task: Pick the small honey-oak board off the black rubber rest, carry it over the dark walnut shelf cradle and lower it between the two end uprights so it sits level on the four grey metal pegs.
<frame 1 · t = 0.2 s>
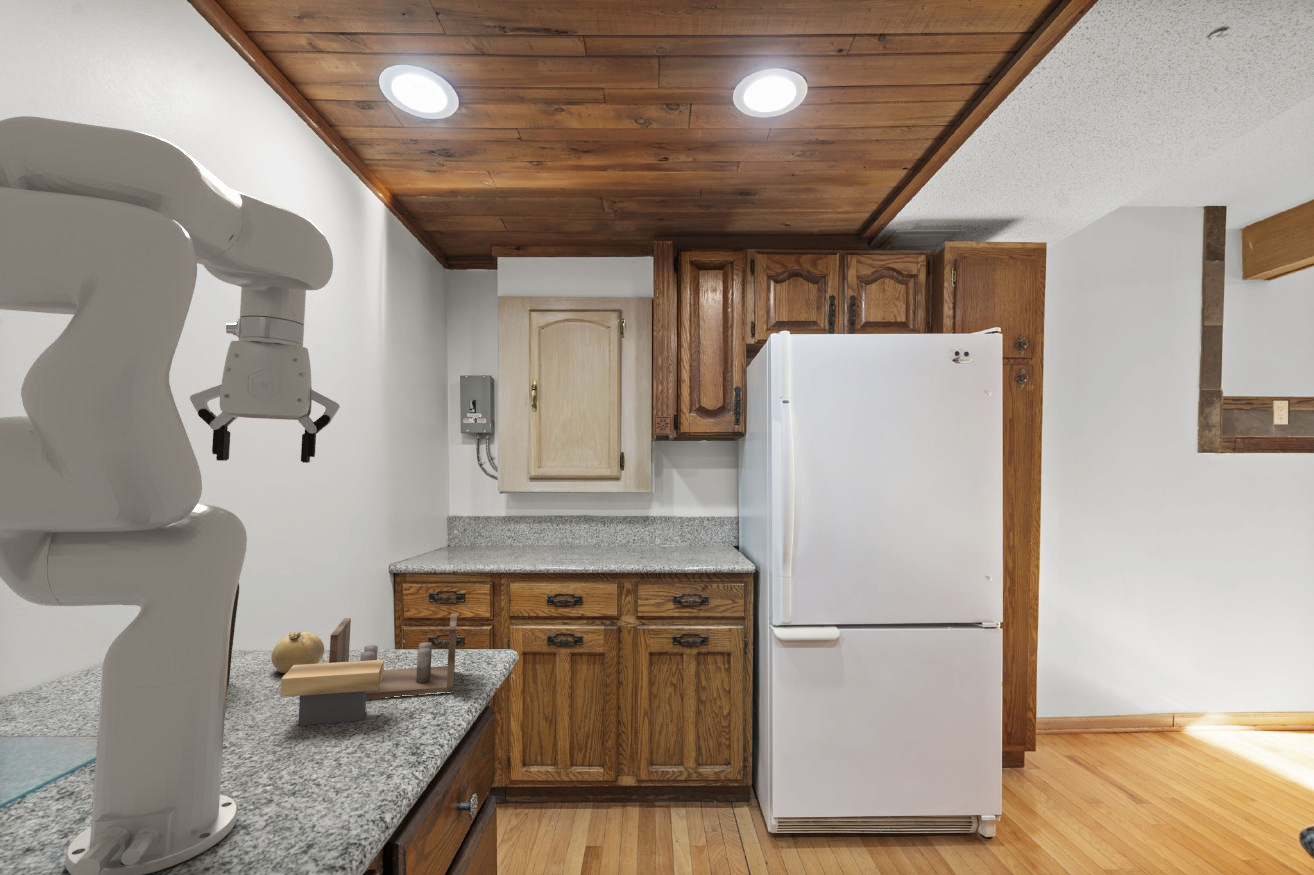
hand: (264, 461, 84), 36 cm above the countertop, tool pointing down, fingers open, 9 cm apart
onion: (297, 671, 107), on the countertop
shelf cradle: (395, 685, 101), on the countertop
oak board: (334, 685, 88), point 4 cm above the countertop, touching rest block
olive oil: (192, 691, 97), on the countertop
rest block: (332, 718, 87), on the countertop
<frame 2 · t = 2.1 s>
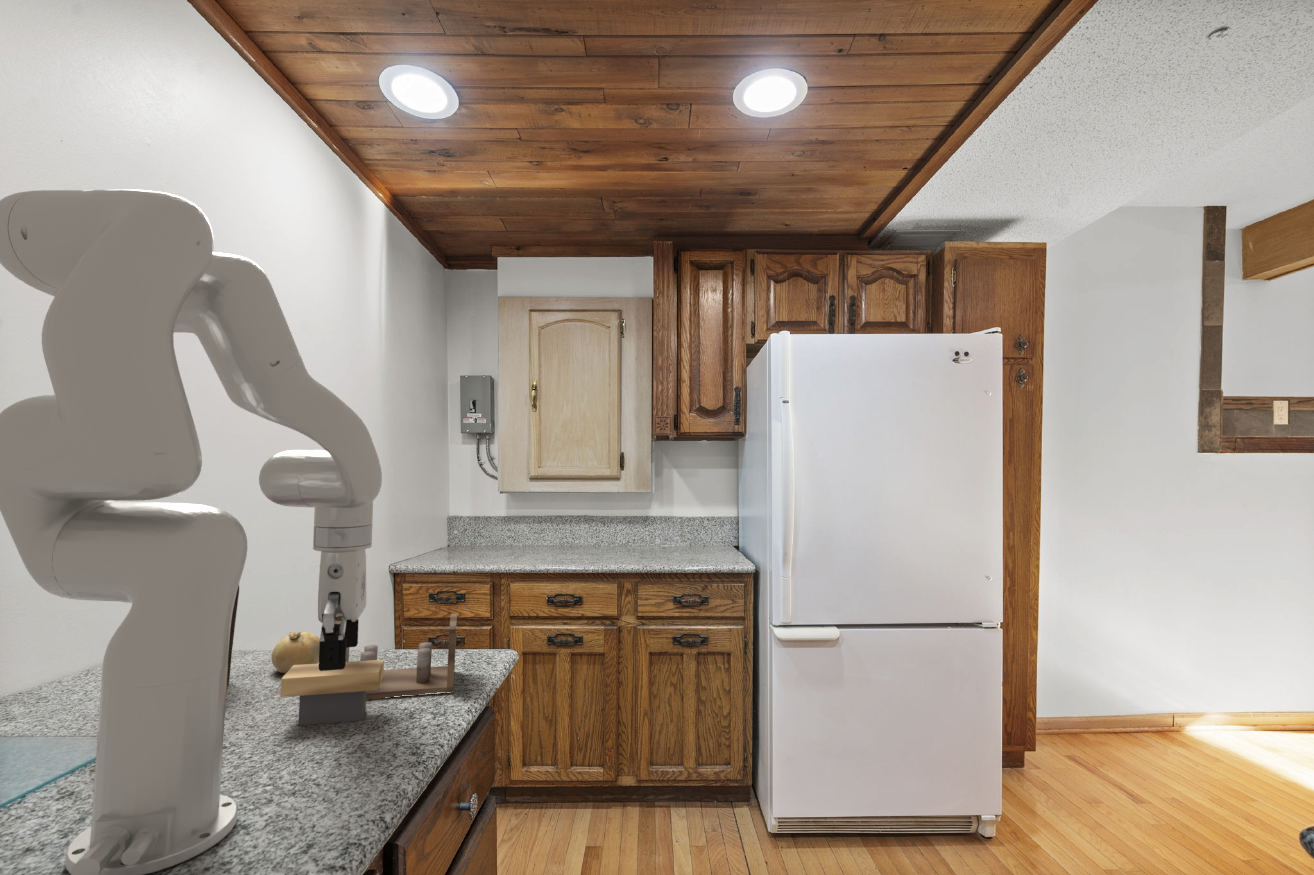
hand: (339, 657, 89), 8 cm above the countertop, tool pointing down, fingers open, 9 cm apart
nothing on the countertop moved.
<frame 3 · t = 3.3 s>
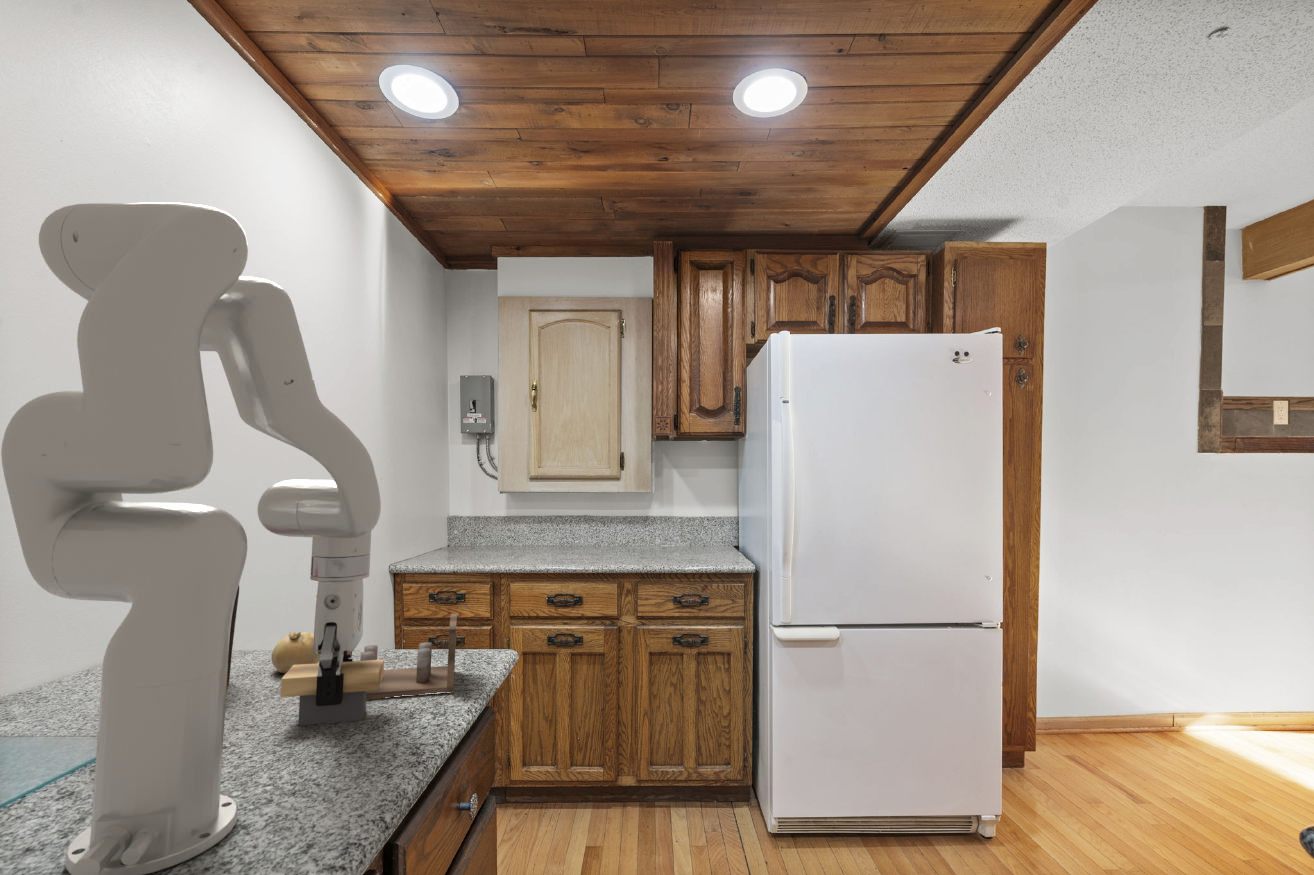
hand: (334, 694, 87), 3 cm above the countertop, tool pointing down, fingers closed on oak board, 6 cm apart
oak board: (334, 685, 88), point 5 cm above the countertop, touching gripper, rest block
everything else where it was.
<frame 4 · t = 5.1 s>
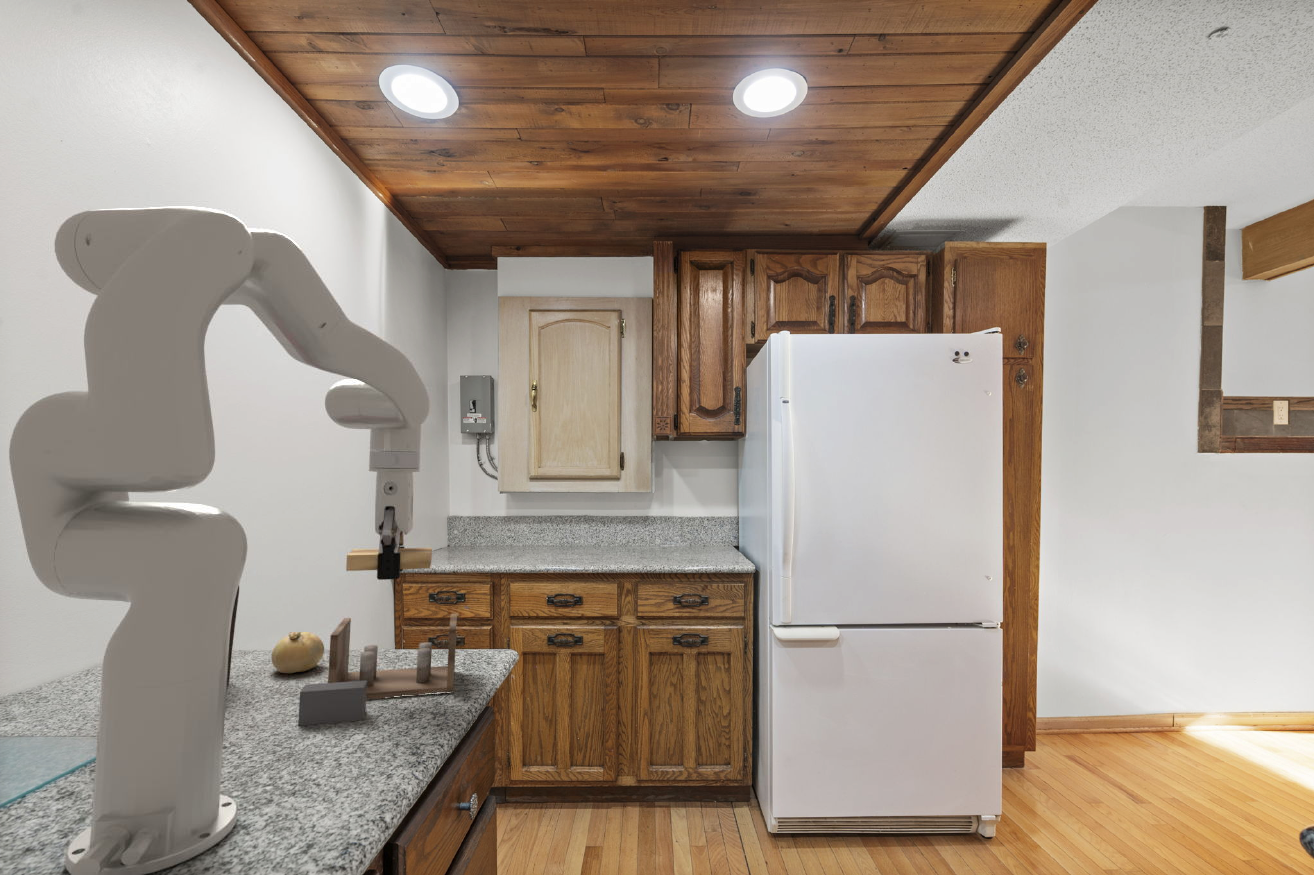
hand: (390, 573, 99), 18 cm above the countertop, tool pointing down, fingers closed on oak board, 6 cm apart
oak board: (390, 566, 99), point 20 cm above the countertop, touching gripper
everything else where it was.
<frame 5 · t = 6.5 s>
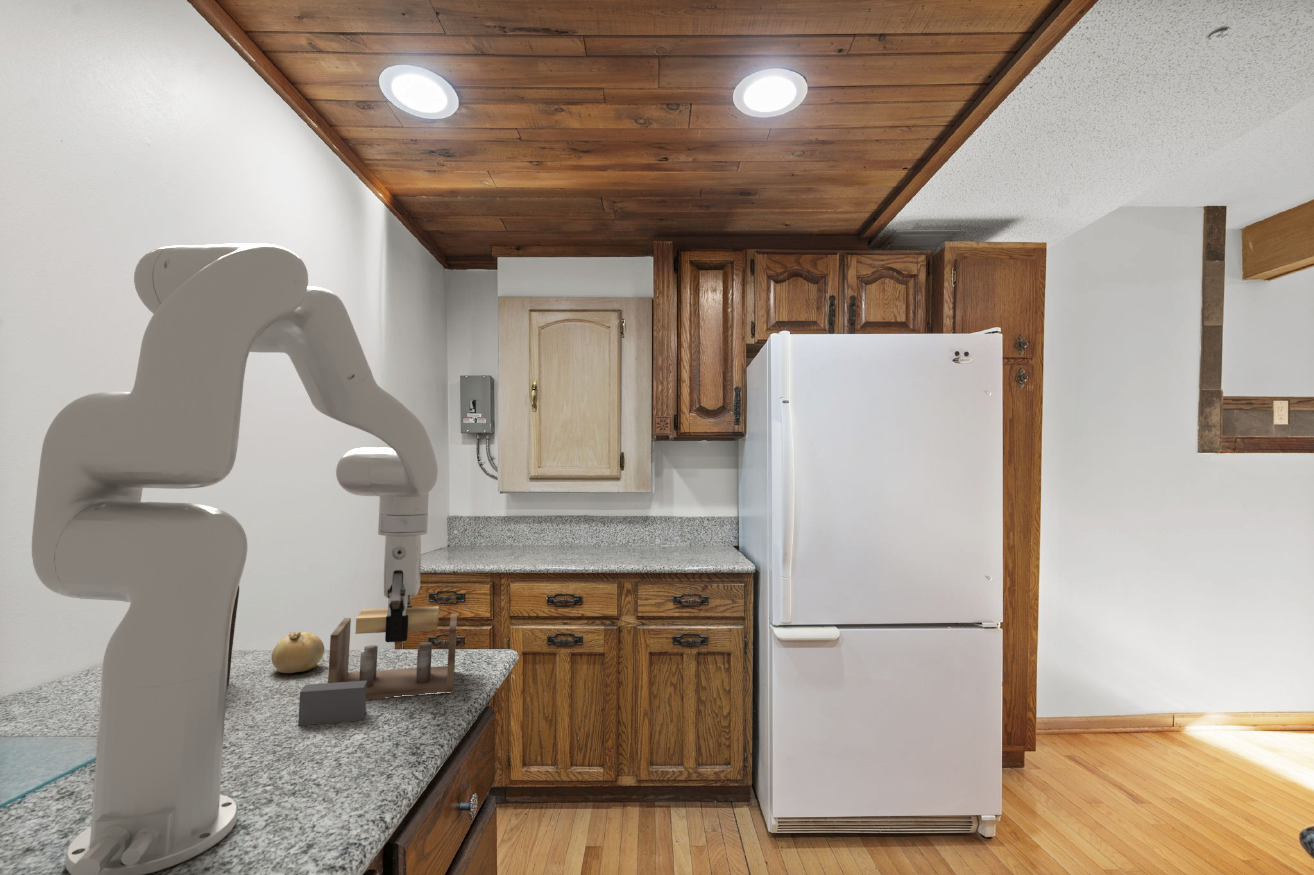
hand: (398, 634, 101), 8 cm above the countertop, tool pointing down, fingers closed on oak board, 6 cm apart
oak board: (398, 626, 101), point 9 cm above the countertop, touching gripper
everything else where it was.
when the fingers open (6 cm above the countertop, at t = 7.4 s): oak board drops 1 cm, resting on shelf cradle.
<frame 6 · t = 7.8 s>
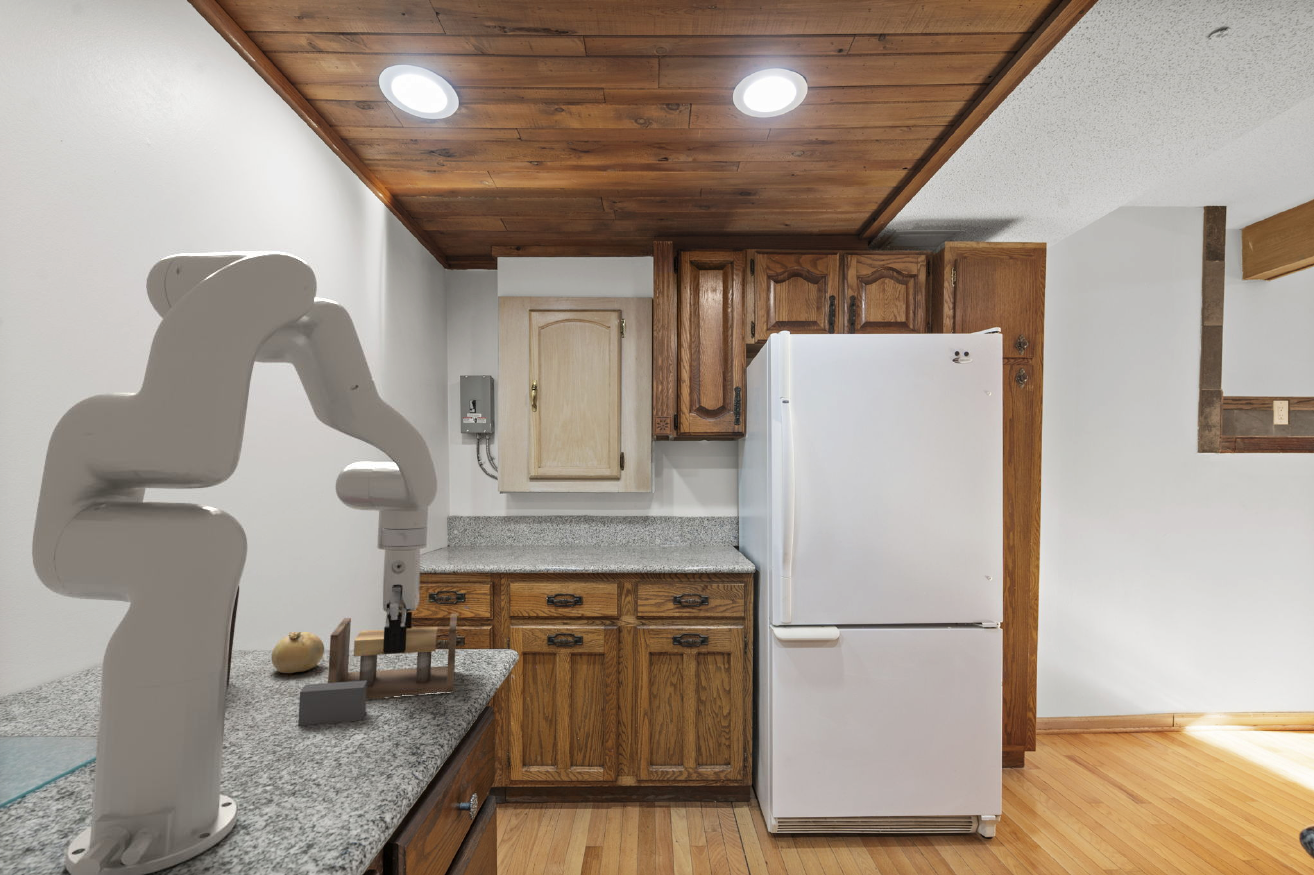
hand: (397, 643, 101), 7 cm above the countertop, tool pointing down, fingers open, 9 cm apart
oak board: (397, 648, 101), point 6 cm above the countertop, touching shelf cradle
everything else where it was.
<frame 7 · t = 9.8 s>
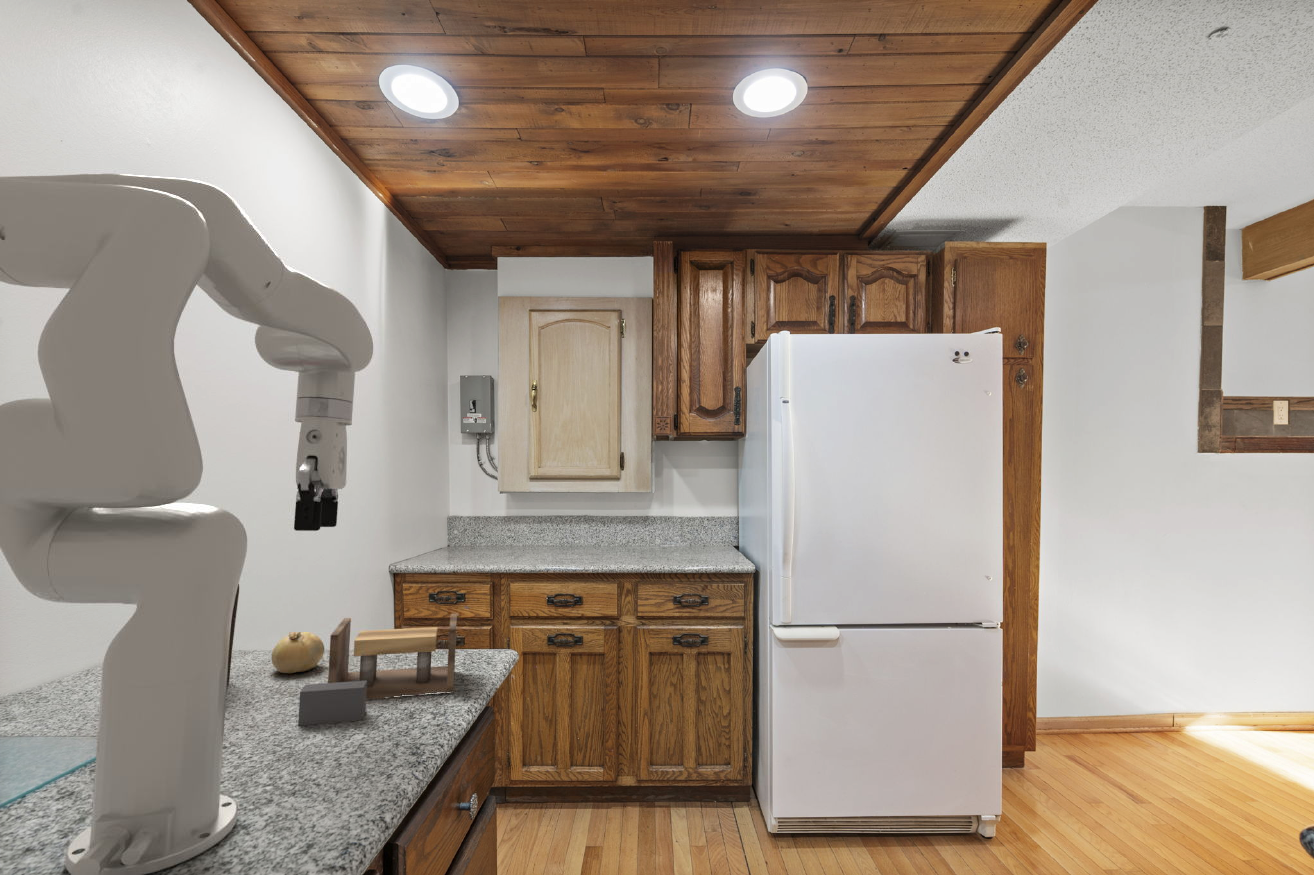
hand: (316, 528, 91), 26 cm above the countertop, tool pointing down, fingers open, 9 cm apart
nothing on the countertop moved.
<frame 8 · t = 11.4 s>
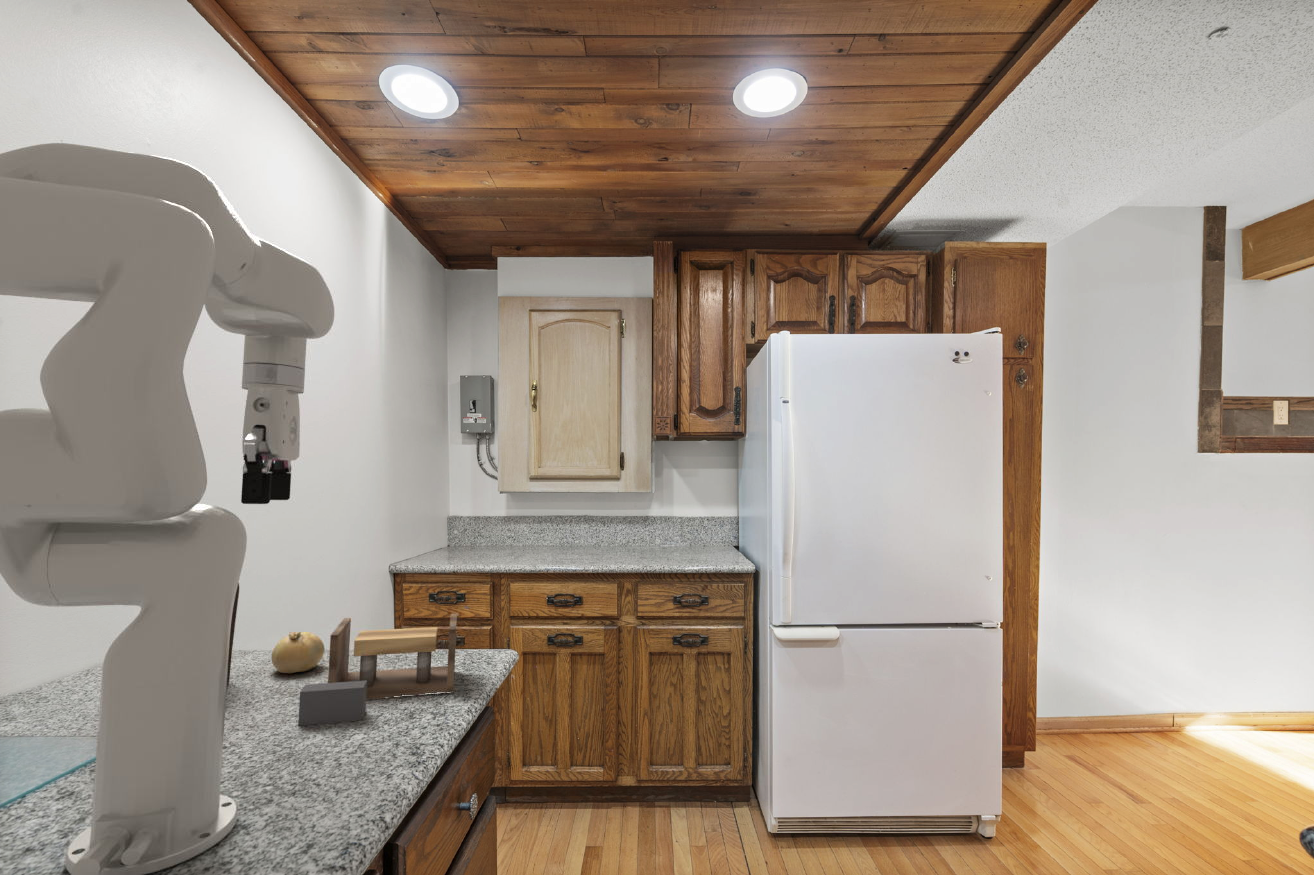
hand: (266, 501, 87), 30 cm above the countertop, tool pointing down, fingers open, 9 cm apart
nothing on the countertop moved.
at the end: oak board 0.0 cm off-centre on the shelf cradle, point 6.0 cm above the shelf cradle's base; oak board tilted 0°; the gripper is holding nothing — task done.
